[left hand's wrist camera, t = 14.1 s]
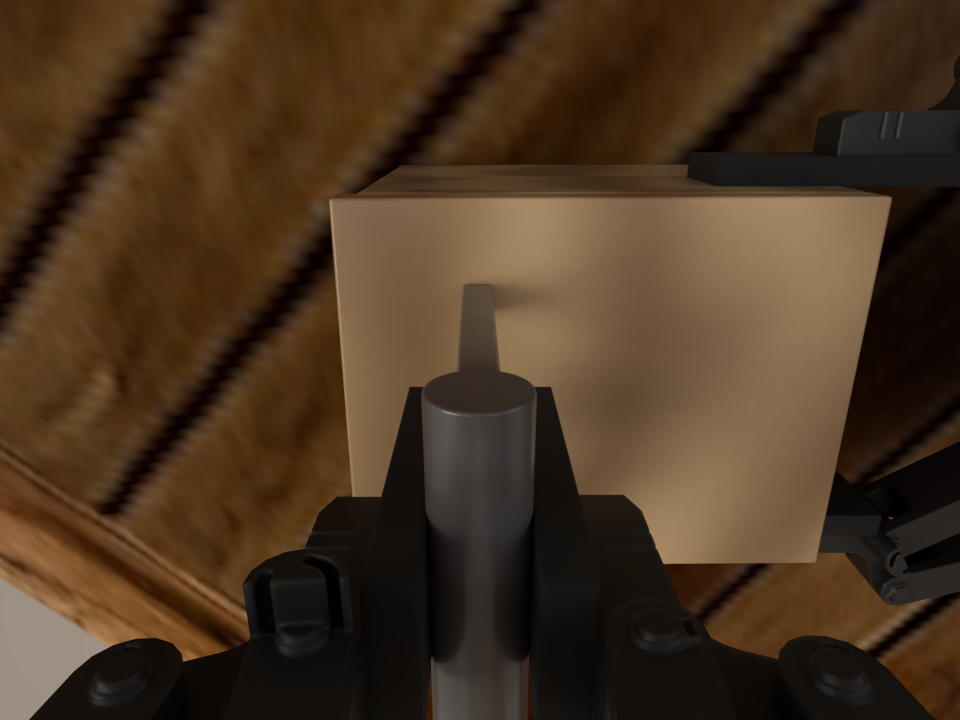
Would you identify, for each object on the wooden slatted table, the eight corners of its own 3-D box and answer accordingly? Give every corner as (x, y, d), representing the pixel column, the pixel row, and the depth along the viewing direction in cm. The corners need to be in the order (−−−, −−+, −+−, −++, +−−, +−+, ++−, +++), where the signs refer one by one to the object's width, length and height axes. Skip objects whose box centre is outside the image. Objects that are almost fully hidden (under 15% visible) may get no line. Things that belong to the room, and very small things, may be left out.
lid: (362, 546, 20) (283, 851, 12) (336, 193, 16) (193, 272, 8) (801, 543, 20) (1032, 845, 12) (871, 191, 16) (1273, 268, 8)
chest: (411, 408, 29) (378, 543, 20) (400, 164, 25) (356, 192, 16) (700, 408, 29) (801, 542, 20) (730, 164, 25) (870, 191, 16)
